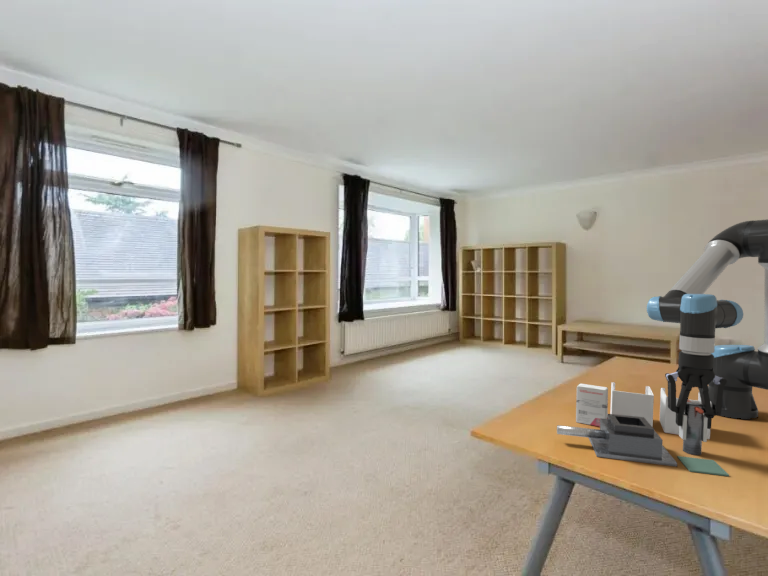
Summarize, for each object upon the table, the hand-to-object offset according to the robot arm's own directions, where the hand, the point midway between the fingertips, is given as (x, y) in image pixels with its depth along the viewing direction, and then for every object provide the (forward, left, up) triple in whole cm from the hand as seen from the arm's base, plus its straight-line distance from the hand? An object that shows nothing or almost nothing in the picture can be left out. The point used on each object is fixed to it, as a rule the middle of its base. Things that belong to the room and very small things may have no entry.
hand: (692, 438), depth 113 cm
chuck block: (+20, +4, -4) cm, 21 cm away
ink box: (+22, -15, -4) cm, 27 cm away
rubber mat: (+1, +9, -4) cm, 10 cm away
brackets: (+3, -19, -4) cm, 20 cm away
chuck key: (0, 0, -4) cm, 4 cm away
